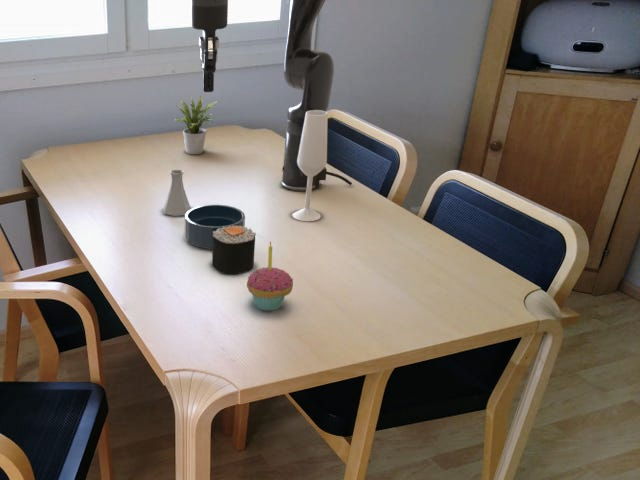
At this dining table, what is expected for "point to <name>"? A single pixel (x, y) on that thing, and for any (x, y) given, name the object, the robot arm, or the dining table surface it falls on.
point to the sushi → (233, 249)
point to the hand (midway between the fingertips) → (208, 91)
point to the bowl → (210, 223)
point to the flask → (176, 196)
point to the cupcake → (269, 285)
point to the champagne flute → (312, 156)
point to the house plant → (194, 126)
